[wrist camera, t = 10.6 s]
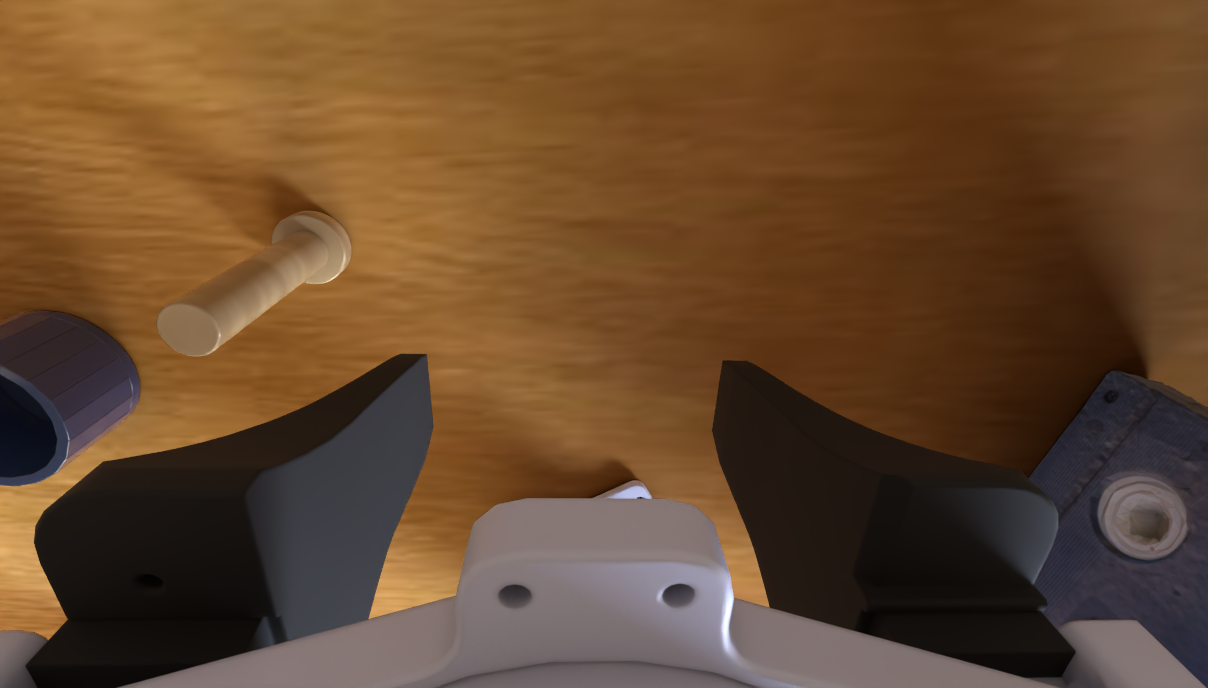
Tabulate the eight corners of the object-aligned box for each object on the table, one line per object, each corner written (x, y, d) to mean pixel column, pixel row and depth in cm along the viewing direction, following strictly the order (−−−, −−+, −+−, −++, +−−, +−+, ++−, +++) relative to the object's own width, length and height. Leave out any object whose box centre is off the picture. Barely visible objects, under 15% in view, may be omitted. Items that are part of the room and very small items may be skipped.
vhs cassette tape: (941, 647, 33) (1079, 861, 24) (898, 638, 33) (1022, 853, 24) (1164, 380, 26) (1477, 542, 17) (1113, 363, 26) (1408, 520, 17)
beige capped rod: (366, 258, 22) (265, 349, 15) (311, 289, 22) (186, 392, 15) (322, 197, 21) (189, 262, 14) (264, 230, 21) (106, 310, 14)
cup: (170, 394, 24) (102, 448, 20) (73, 447, 25) (-8, 507, 21) (62, 286, 22) (-34, 325, 18) (-40, 347, 23) (-150, 396, 19)
